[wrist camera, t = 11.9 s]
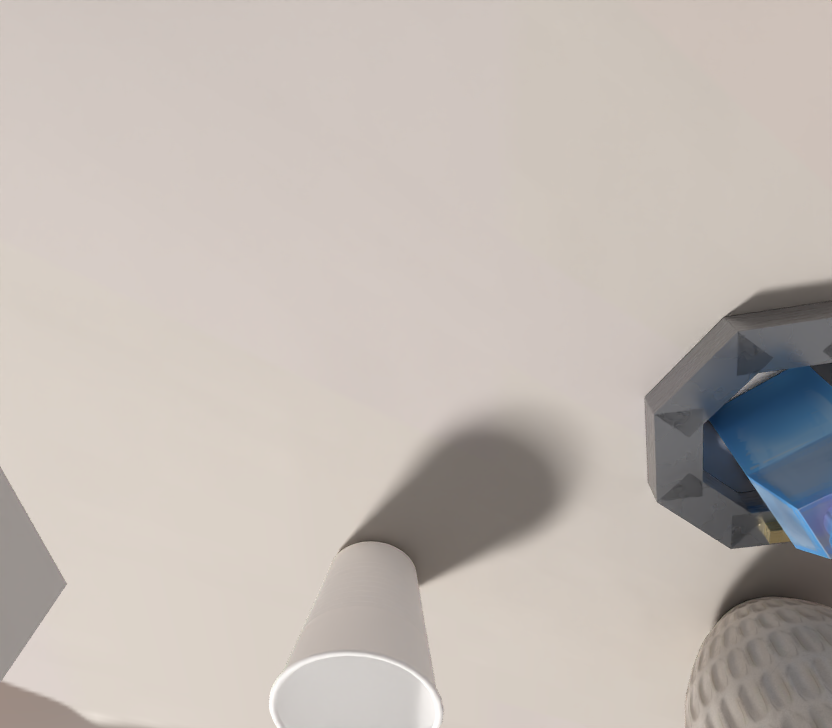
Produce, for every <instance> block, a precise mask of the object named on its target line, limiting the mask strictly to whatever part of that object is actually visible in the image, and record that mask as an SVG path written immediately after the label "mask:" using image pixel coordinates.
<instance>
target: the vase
mask: <svg viewBox="0 0 832 728" xmlns="http://www.w3.org/2000/svg"><path fill="white" fill-rule="evenodd" d="M685 728H832V608H831V607H828V606H825V605H822V604H819V603H816V602H811V601H806V600H800V599H793V598H785V597H761V598H756V599H752V600H748V601H746V602H743V603H741V604H739V605H737V606H735V607H734V608H732V609H731V610H729V611H728V612H727V613H726V614H724V615H723V617H722V618H721V619H720V620H719V621H718V622H717V624H716V625H715V626H714V627H713V629H712V630H711V631H710V633H709V634H708V635H707V637H706V638H705V640H704V642H703V643H702V645H701V648H700V650H699V652H698V655H697V657H696V660H695V662H694V665H693V668H692V672H691V676H690V680H689V684H688V688H687V692H686V700H685Z"/></svg>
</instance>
